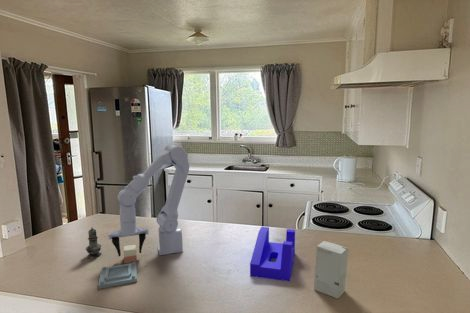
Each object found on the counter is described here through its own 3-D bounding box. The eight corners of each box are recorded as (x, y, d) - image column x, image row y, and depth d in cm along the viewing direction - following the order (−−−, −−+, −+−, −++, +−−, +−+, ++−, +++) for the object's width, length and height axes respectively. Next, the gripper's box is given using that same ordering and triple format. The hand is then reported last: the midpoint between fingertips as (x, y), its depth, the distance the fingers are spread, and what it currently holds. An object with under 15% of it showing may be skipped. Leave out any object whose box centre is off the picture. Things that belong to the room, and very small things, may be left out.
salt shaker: (96, 259, 121) (93, 230, 119) (83, 258, 122) (80, 229, 120) (105, 252, 126) (103, 224, 125) (92, 251, 128) (90, 224, 126)
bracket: (261, 251, 127) (261, 226, 125) (294, 254, 123) (295, 229, 121) (250, 277, 107) (249, 248, 105) (289, 282, 103) (290, 252, 101)
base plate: (136, 265, 115) (136, 260, 115) (137, 281, 104) (136, 276, 104) (101, 271, 111) (101, 266, 111) (98, 288, 100) (98, 283, 100)
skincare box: (313, 290, 98) (314, 245, 95) (321, 282, 102) (322, 239, 100) (339, 300, 92) (341, 253, 90) (346, 291, 97) (348, 246, 95)
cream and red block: (136, 256, 123) (135, 244, 122) (136, 261, 119) (136, 249, 118) (124, 258, 122) (123, 246, 121) (124, 263, 117) (123, 250, 117)
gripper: (147, 214, 124) (148, 246, 126) (108, 219, 119) (110, 252, 121) (147, 220, 117) (149, 254, 119) (107, 225, 113) (109, 260, 115)
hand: (130, 253), depth 120 cm, fingers open, 7 cm apart
